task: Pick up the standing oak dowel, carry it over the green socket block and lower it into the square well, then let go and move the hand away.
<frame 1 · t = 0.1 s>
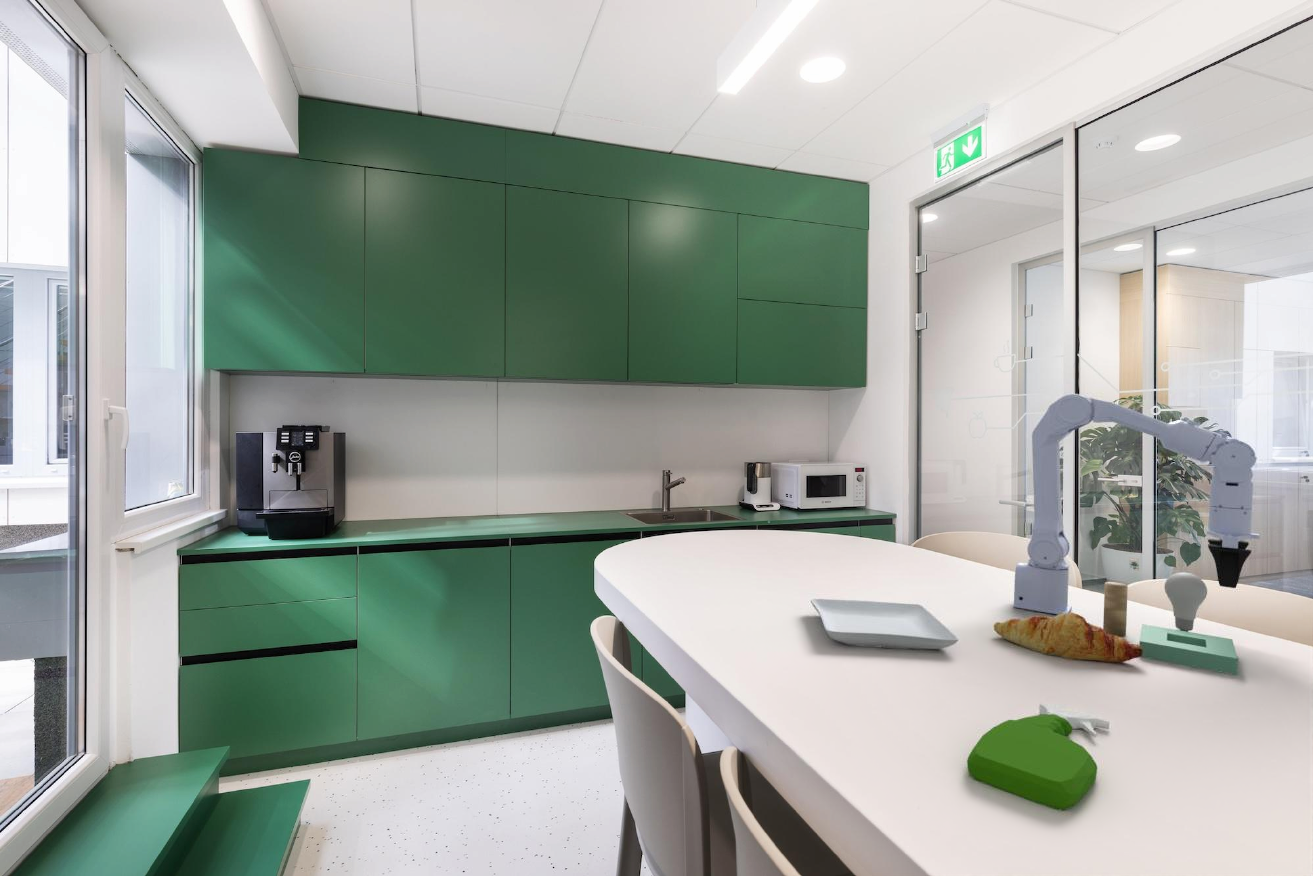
hand: (1226, 583, 116), 10 cm above the table, tool pointing down, fingers open, 7 cm apart
socket block: (1185, 655, 107), on the table
dowel: (1114, 633, 118), on the table
salad plate: (877, 635, 116), on the table
spray bottle: (1046, 758, 74), on the table
croissant: (1063, 652, 109), on the table
lightbulb: (1183, 633, 120), on the table
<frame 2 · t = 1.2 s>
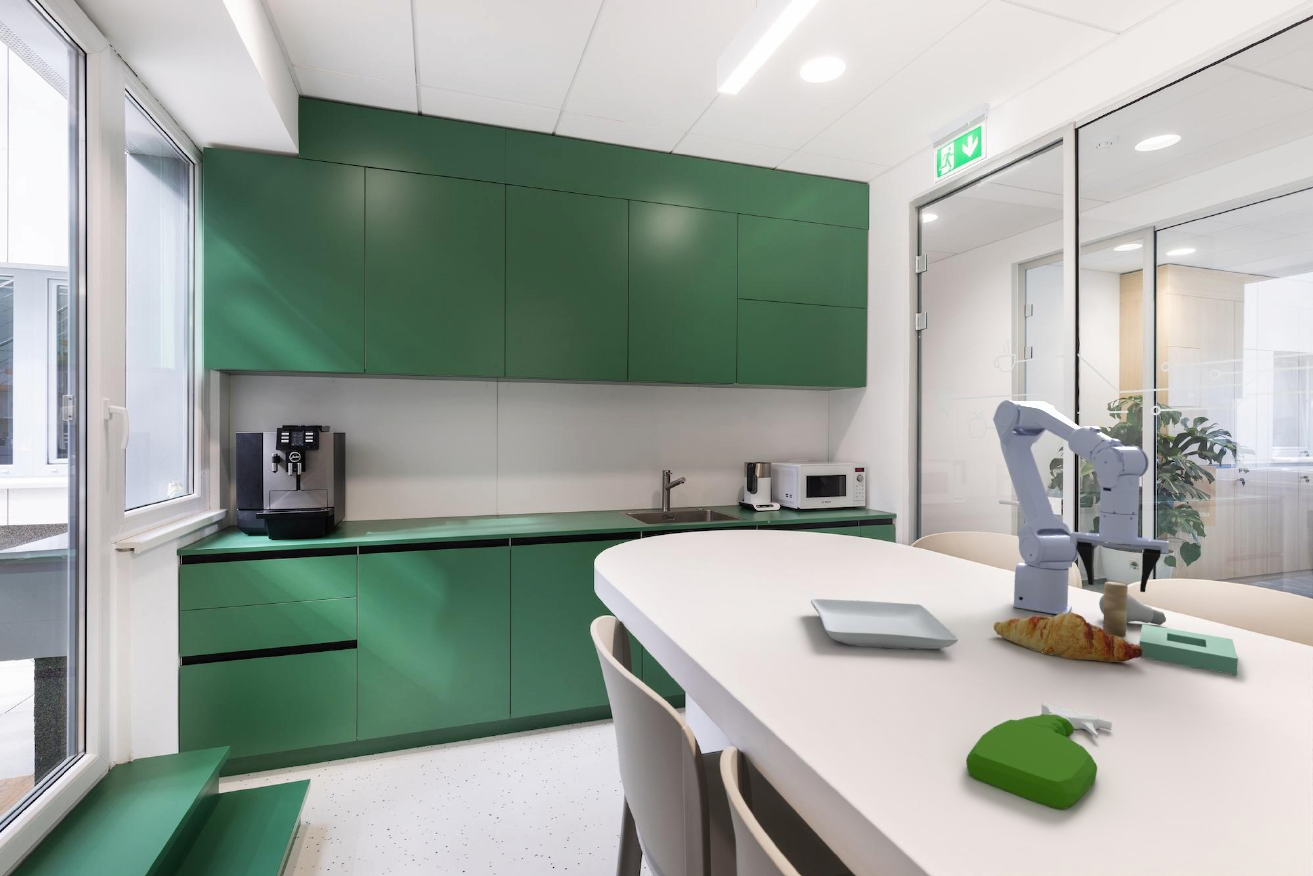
hand: (1116, 587, 118), 8 cm above the table, tool pointing down, fingers open, 7 cm apart
lightbulb: (1166, 620, 123), point 1 cm above the table
everything else where it was.
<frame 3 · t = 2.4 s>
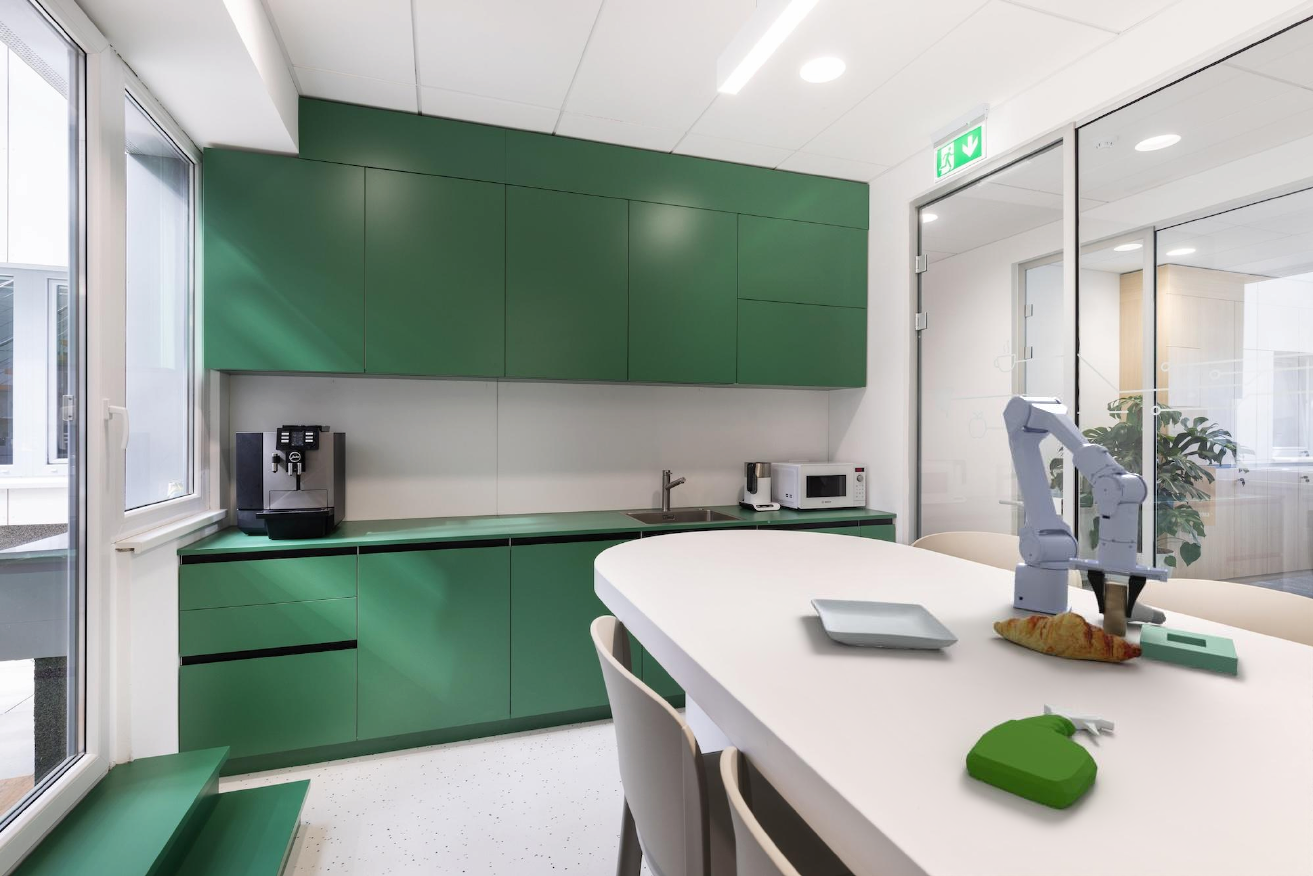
hand: (1115, 614, 118), 3 cm above the table, tool pointing down, fingers closed on dowel, 3 cm apart
dowel: (1114, 633, 118), on the table, touching gripper
everything else where it was.
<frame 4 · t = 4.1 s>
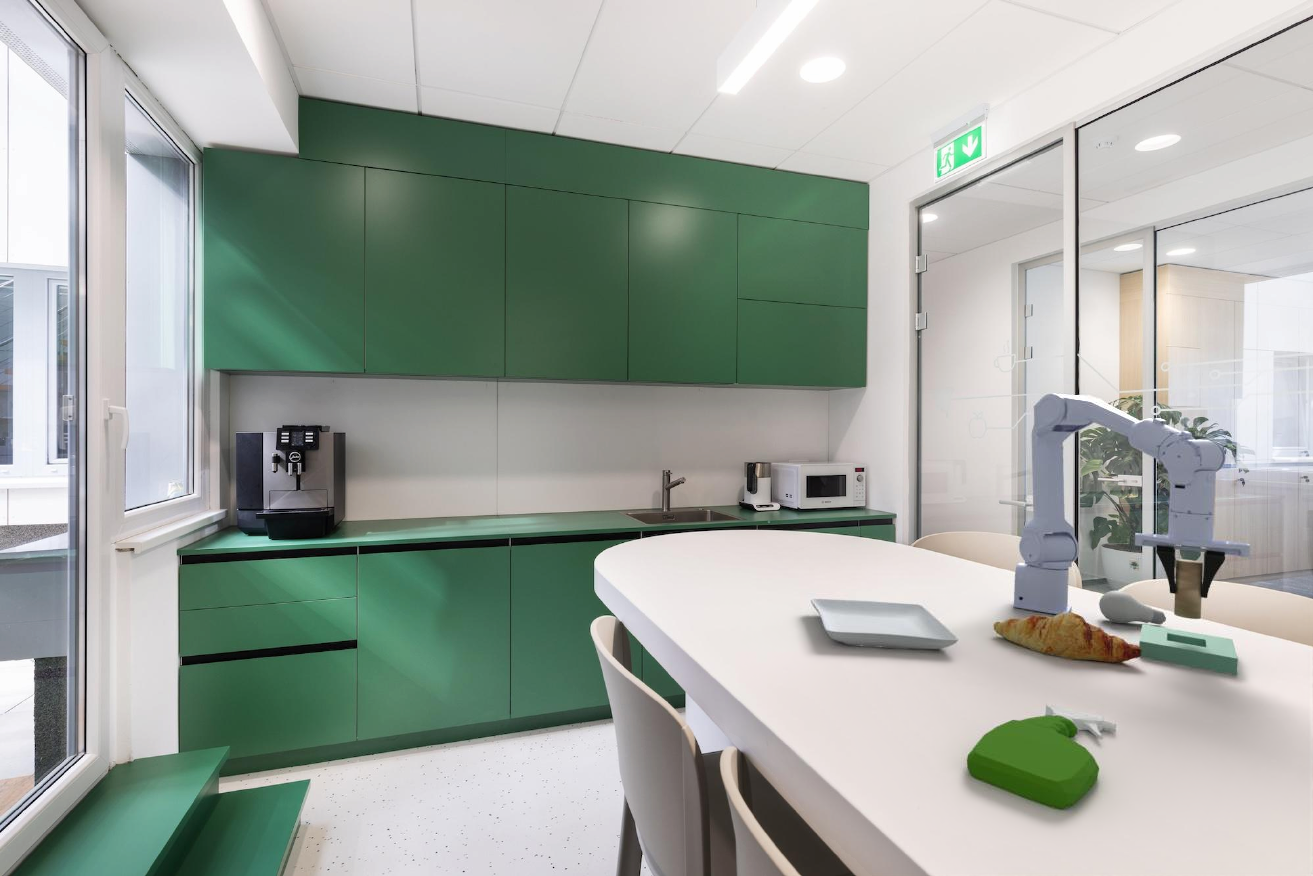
hand: (1188, 594, 107), 10 cm above the table, tool pointing down, fingers closed on dowel, 3 cm apart
dowel: (1187, 615, 107), point 7 cm above the table, touching gripper
everything else where it was.
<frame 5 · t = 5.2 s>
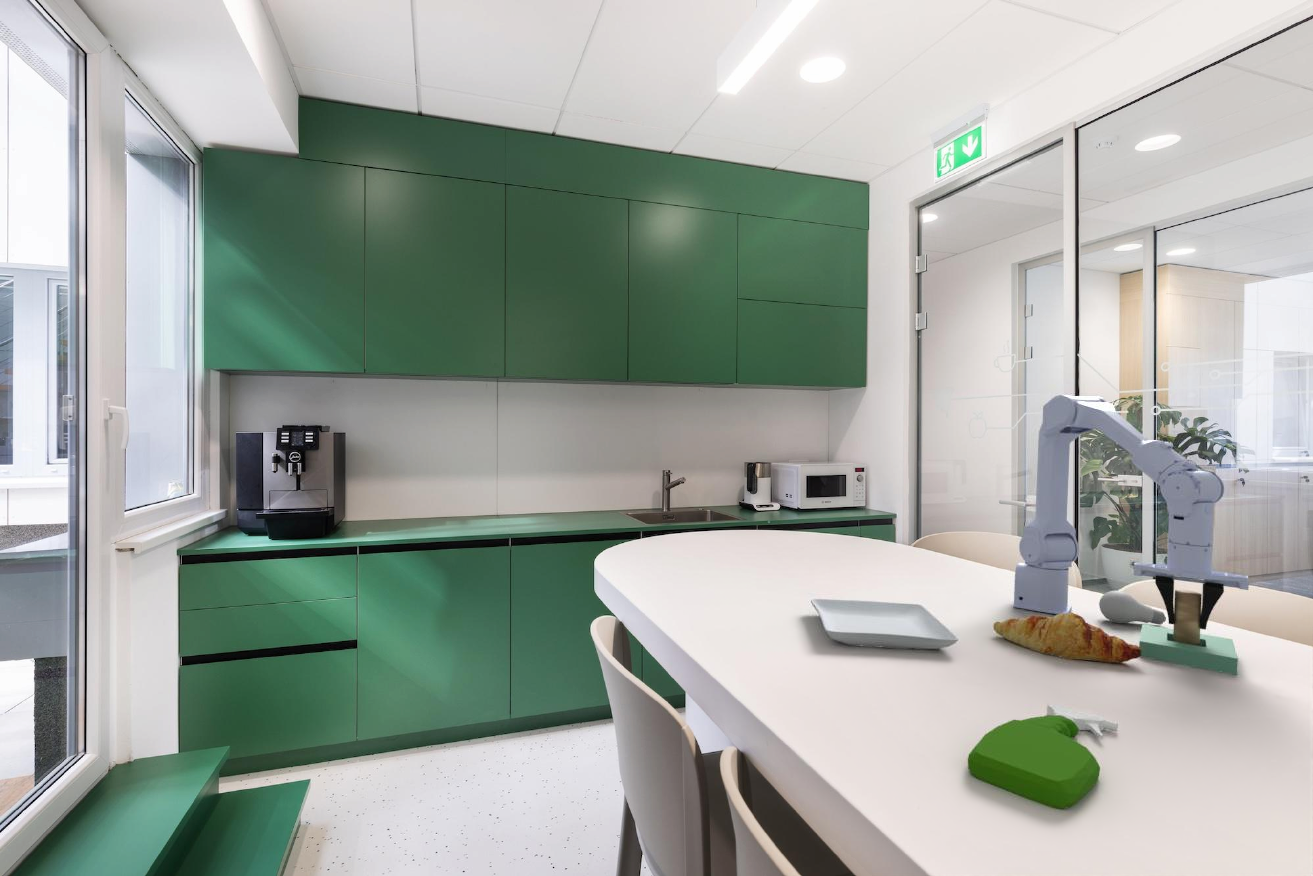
hand: (1186, 625, 107), 5 cm above the table, tool pointing down, fingers closed on dowel, 3 cm apart
dowel: (1186, 646, 107), point 1 cm above the table, touching gripper
everything else where it was.
when the fingers open (5 cm above the table, at t = 5.9 s): dowel drops 1 cm, resting in socket block.
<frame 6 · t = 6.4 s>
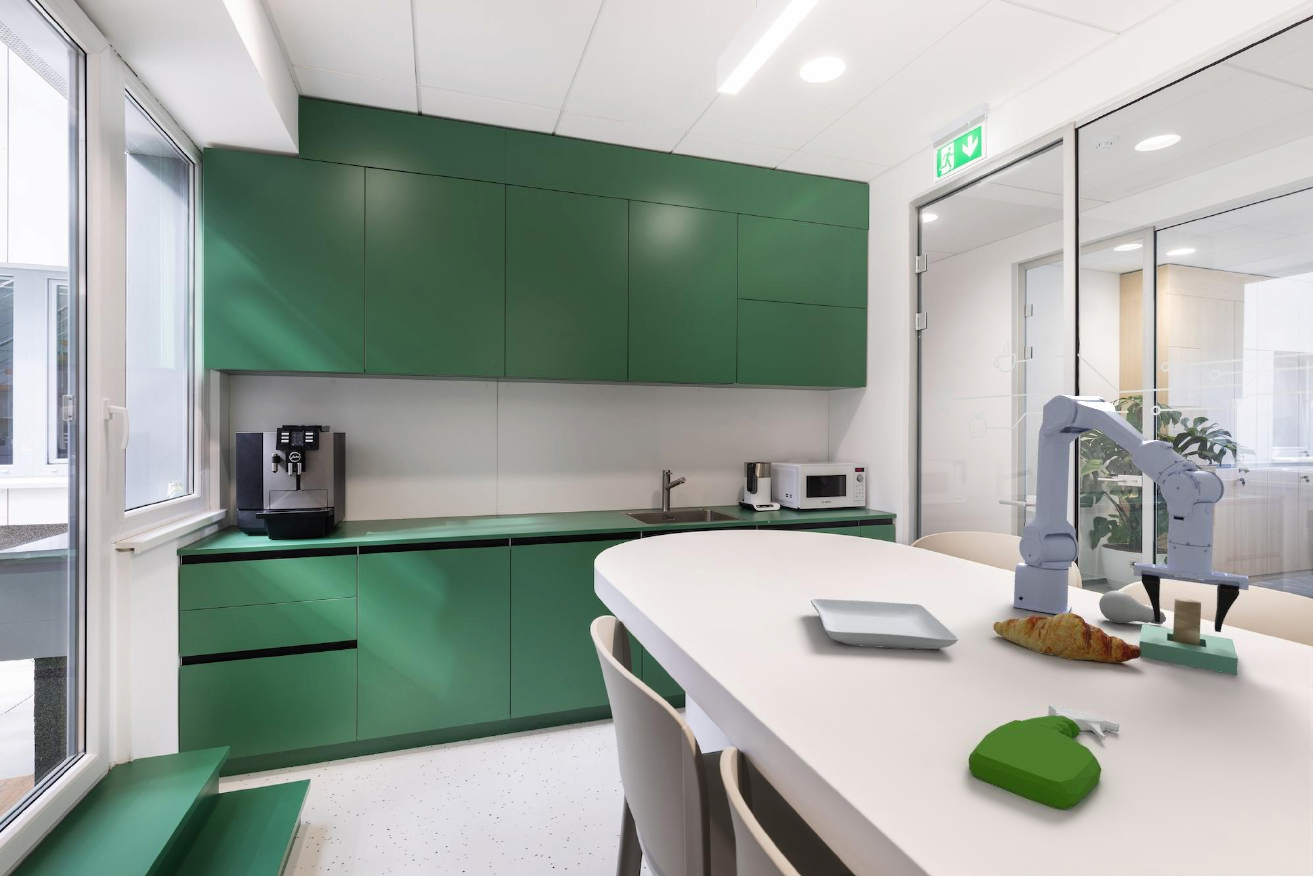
hand: (1186, 625, 107), 5 cm above the table, tool pointing down, fingers open, 7 cm apart
dowel: (1185, 655, 107), resting in socket block
everything else where it was.
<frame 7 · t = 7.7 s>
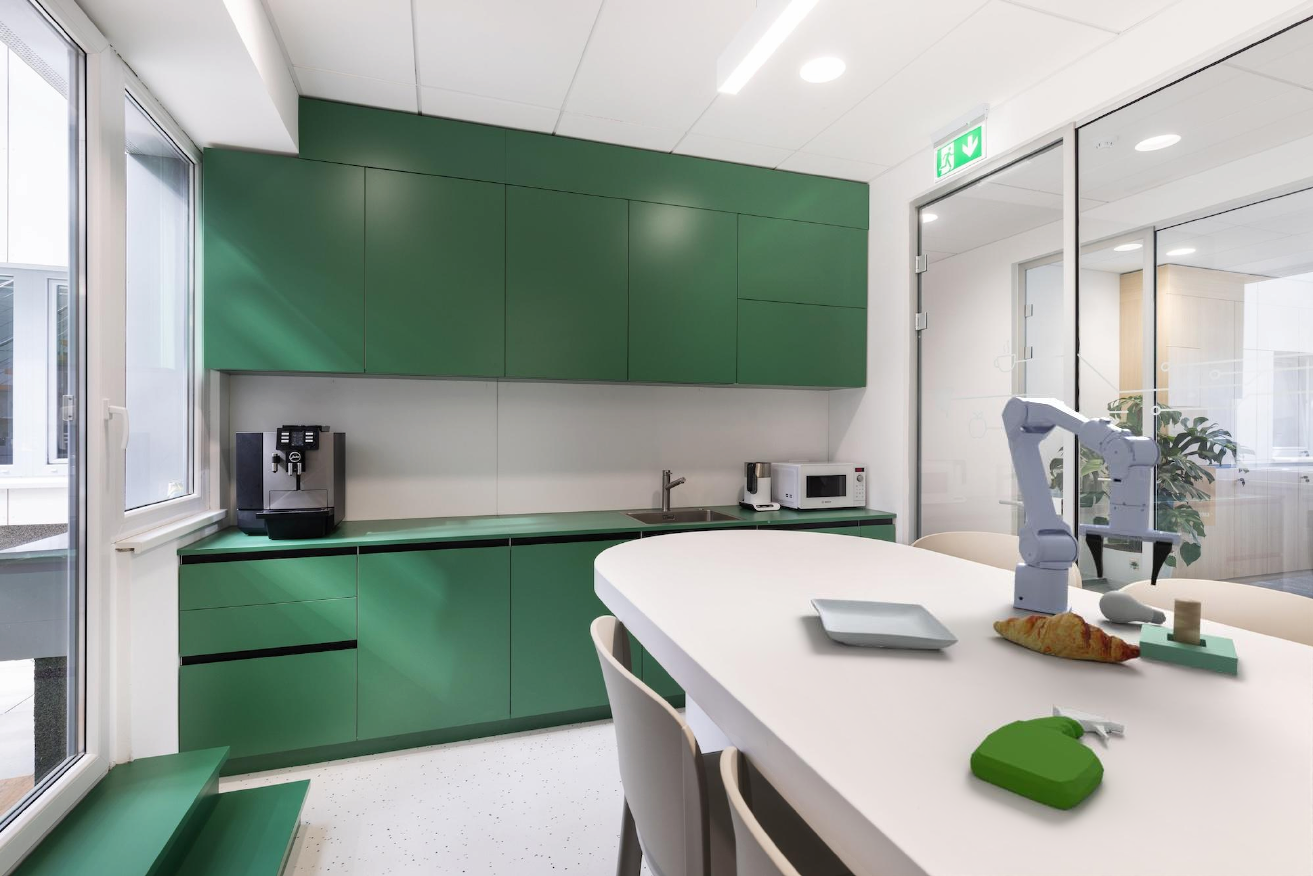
hand: (1126, 580, 115), 10 cm above the table, tool pointing down, fingers open, 7 cm apart
nothing on the table moved.
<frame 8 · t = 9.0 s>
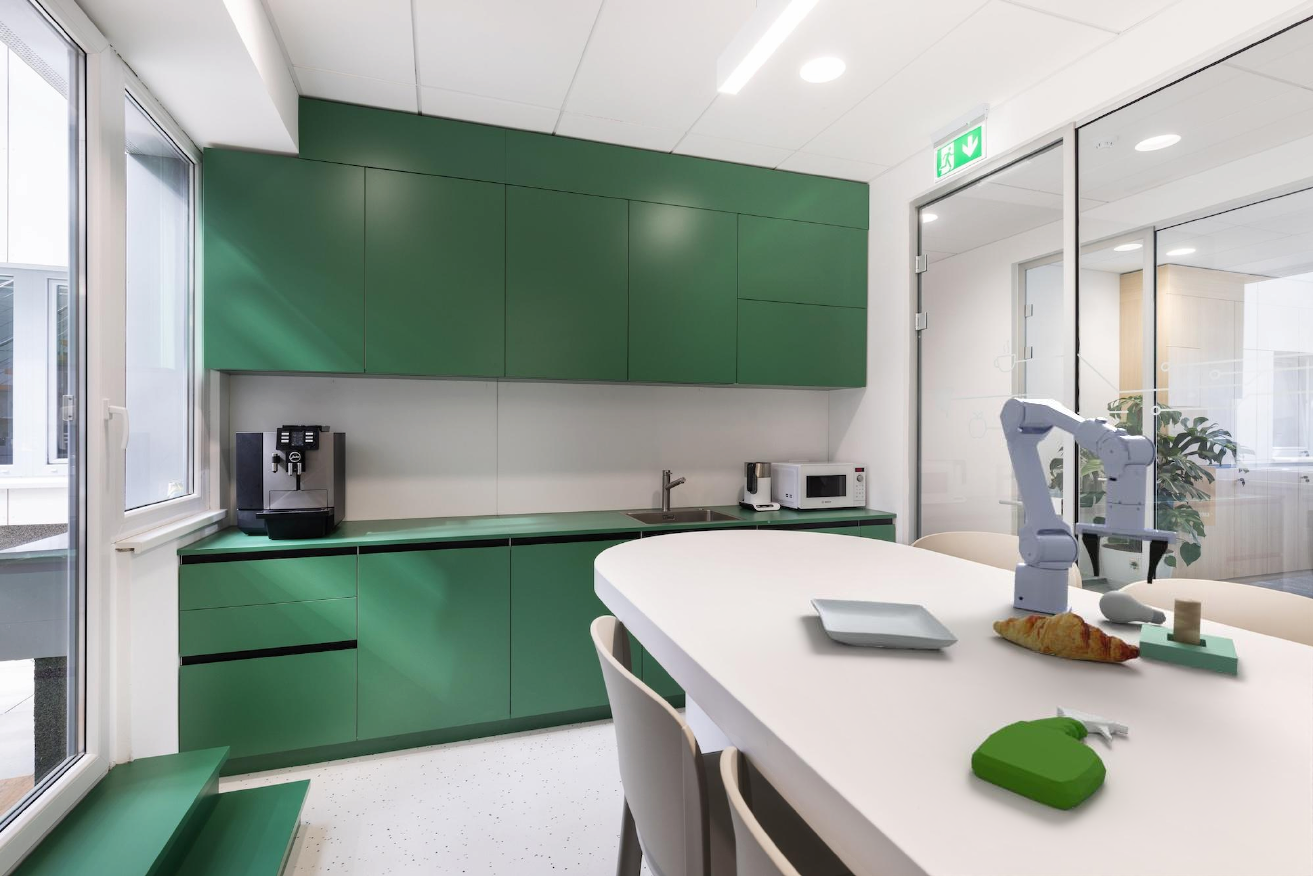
hand: (1122, 579, 116), 10 cm above the table, tool pointing down, fingers open, 7 cm apart
at the end: dowel 0.0 cm off-centre on the socket block, point 0.0 cm above the socket block's base; dowel tilted 0°; the gripper is holding nothing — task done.
